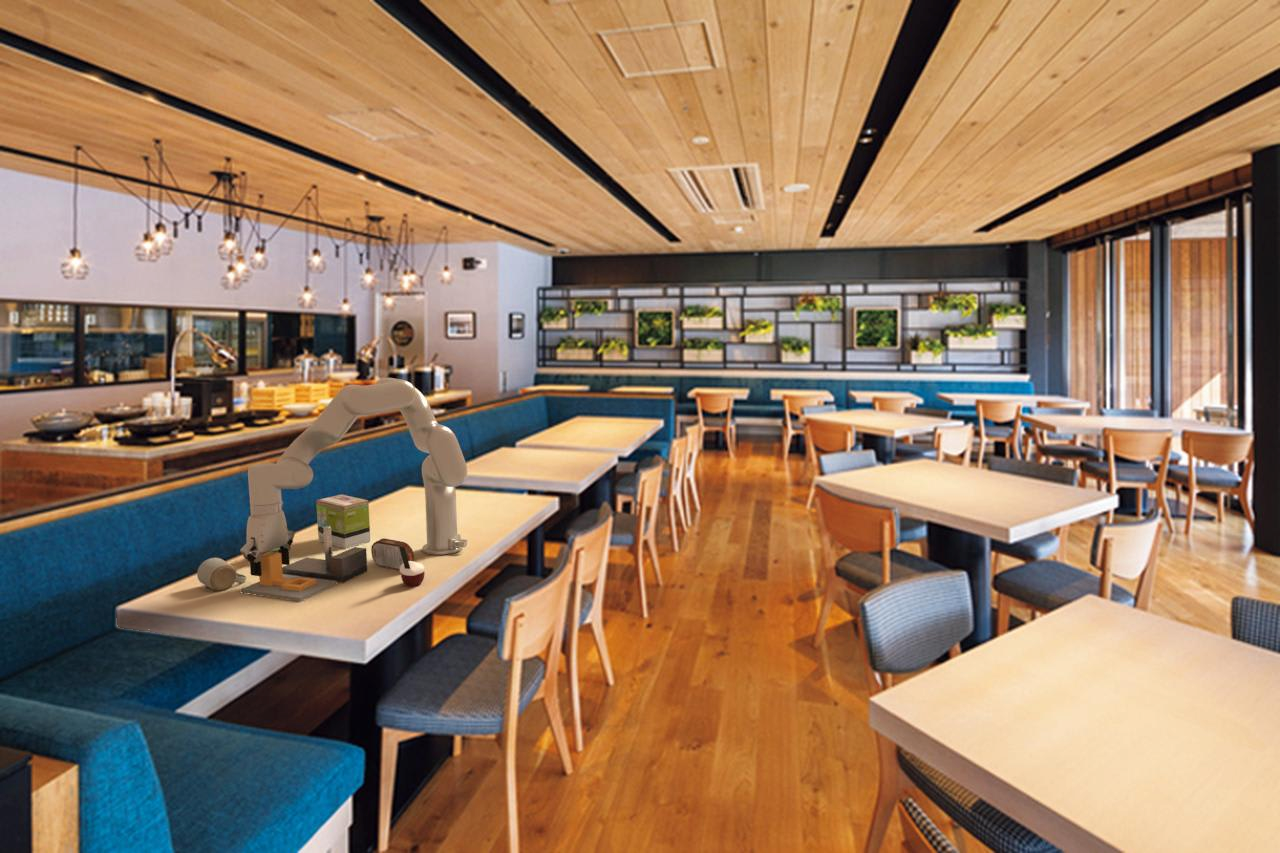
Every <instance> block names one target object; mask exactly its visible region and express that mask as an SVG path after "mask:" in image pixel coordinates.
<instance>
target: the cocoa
mask: <svg viewBox="0 0 1280 853" xmlns="http://www.w3.org/2000/svg"><path fill="white" fill-rule="evenodd" d="M399 549H400V552H401V556H402V560H403V564H402V565H401V566H400V570H399V572H400V578H401V580H402V583H403V584H404V585H405V586H406V587H417V586H420V585H421V584H422V582H423V581H424V578H425V569H426V568H425V566H424V565H423V564H422V563H420V562H416V561H415V560H414V561H408V558H407V554H406V550H405V548H404V547H399Z"/></svg>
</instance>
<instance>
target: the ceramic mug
mask: <svg viewBox="0 0 1280 853" xmlns="http://www.w3.org/2000/svg"><path fill="white" fill-rule="evenodd" d="M196 574H197V575H196V576H197V579H198V581H199V583H201V584H202V585H205V586H206V587H208V588H211V589H212V590H216V591H225V590H228V589H229V588H231V587H232V586H234V584H235V583H241V584H242V583H245V582H246V581H247V580H246V579H247V576H246V575H244V574H241V573H238V572H237V569H236V568H235V567H234V566H233V565H232V564H230V563H228V562H227V561H225V560H224V559H222V558H219V557H210V558H208V559H206V560H204V561H202V563H200V565H199V567H198V569H197V573H196Z"/></svg>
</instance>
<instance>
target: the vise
mask: <svg viewBox="0 0 1280 853" xmlns="http://www.w3.org/2000/svg"><path fill="white" fill-rule="evenodd" d="M323 530H324V542H323V544H324V559H320V558H312V557H304V558H302V559H299V560H297V561H294V562H292V563H290V564H289V565H284V566H282V572H283V574H287V575H294V576H302V577H310V578H317V579H325V580H332V581H336V583H341V584H344V583H346V582H348V581H352V580H353V579H355V578H356V577H358V576H361V575H363V574H365V573H368V559H367V558H368V557H367V547H357V546H354V547H351V548H348V550H345V551H342V552H340V553H338V554H335V555H333V554H334V553H333V545H332V536H331V526H325V527H323Z"/></svg>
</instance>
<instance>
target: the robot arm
mask: <svg viewBox="0 0 1280 853" xmlns="http://www.w3.org/2000/svg"><path fill="white" fill-rule="evenodd" d="M394 411H399V412H400V414H401V415H402V416H403V419H404V422H406V426H407V427H408V430H409V433H410V436H411V438H412V440H413V443H414V446H415V447H416V448H417V450H419V451H420V452H422V453H425V454H429V455H428V456H426V457H425V459H424V460H423V461H422V464H421V476H422V482H423V486H424V494H425V495H424V497H425V499H424V500H425V523H426V524H425V525H426V527H425V528H426V543H425V544H424V545H422V549H421V551H422V552H423V553H424V554H427V555H433V556H440V555H441V556H442V555H449V554H453V553H457V552H459V551H461V550H462V549H463V548H466V547H467V545H468V539H463V538H461V534H459V533H458V521H457V520H458V514H457V513H458V512H457V492H456V487H459V486H460V485H462V484H463V483H464V482H465V480H466V479H467V476H468V466H467V463H466V459H465V457H464V455H463V450H462V449H461V446H460V444H459V441H458V438H457V437H456V434H455V433H454V432H453V431H452V429H450V427H448V426H446V425H443V424H439V422H438V421H437V419H436V417H435V415H434V412H433V410H432V408H431V406H430V403H429V401H428V400H427V399H426V397H425V396H424V394H423V393H422V392H421V391H420V390H419V389H418V388H416V387H415V385H413V384H412V382H409V381H408V380H405V379H401V378H393V377H383V378H380V379H379V380H377V381H376V382H375V383H374V384H368V385H367V384H366V385H359V384H347V385H344V386H343V387H341V388H340V390H339V391H338V392H337V393H336V394H335V395H334V397H333V398H332V399H331V401H330V402H329V403H328V404H327V405H326V407H325V408H324V409H323V411H322V412H321V413H320V414H319V416H318V417H317V418H316V419H315V421H314V422H313V423H312V424H311V425H310V426H308V427H307V428H306V429H305V430H304V431H303V432H302V433H301V434H300V435H299V436H297V437H296V438H295V439H294V440H293V441H292V443H290V445H289V446H288V447H287V448H286V449H285V450H284V452H283V453H282V455H281V456H280V457H279V459H277V461H276V463H274V462H272V463H271V462H263V463H255V464H252V465H250V466H249V467H248V468H247V469H248V470H247V478H248V479H247V480H248V494H249V508H250V516H248V519H247V522H246V523H247V524H246V543H244V545H243V546H242V547H241V548H240V553H241V555H242V556H243V558H244V559H245V560H246V561H247V562H249V568H250V570H249V571H250V575H251V576H254V577H259V576H261V575H262V570H261V561H259V559H260V557H261V555H262V553H265V552H267V551H270V550H273V549H276V548H280V549H281V550H278V553H281V558H282V566H283V565H284V566H287V565H289V564H291V562H290V550H291V549H292V547H291V546H292V545H293V543H294V537H295V534H296V533H295V531H292V530H288V525H287V519H286V516H285V512H284V510H283V505H284V501H283V500H282V489H285V490H286V489H287V490H290V489H293V490H295V489H296V490H297V489H302V488H305V487H307V486H309V485H310V483H311V482H312V481H313V478H314V471H313V469H312V467H311V466H310V465H309V464H310V463H311V462H312V460H313V459H314V458H315V457H316V456H317V455H318V454H319V453H321V451H323V450H325V449H326V448H329V447H331V446H333V445H335V444H337V443H338V442H340V441H341V440H342V439H343V437H345V435H346V433H348V431H349V430H350V429H351V427H352V426H353V425H354V423H355V422H356V421H357V419H358V418H359V417H361V416H364V417H365V416H371V415H378V414H384V413H388V412H394ZM255 553H257V554H256V556H254V555H255Z"/></svg>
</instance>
